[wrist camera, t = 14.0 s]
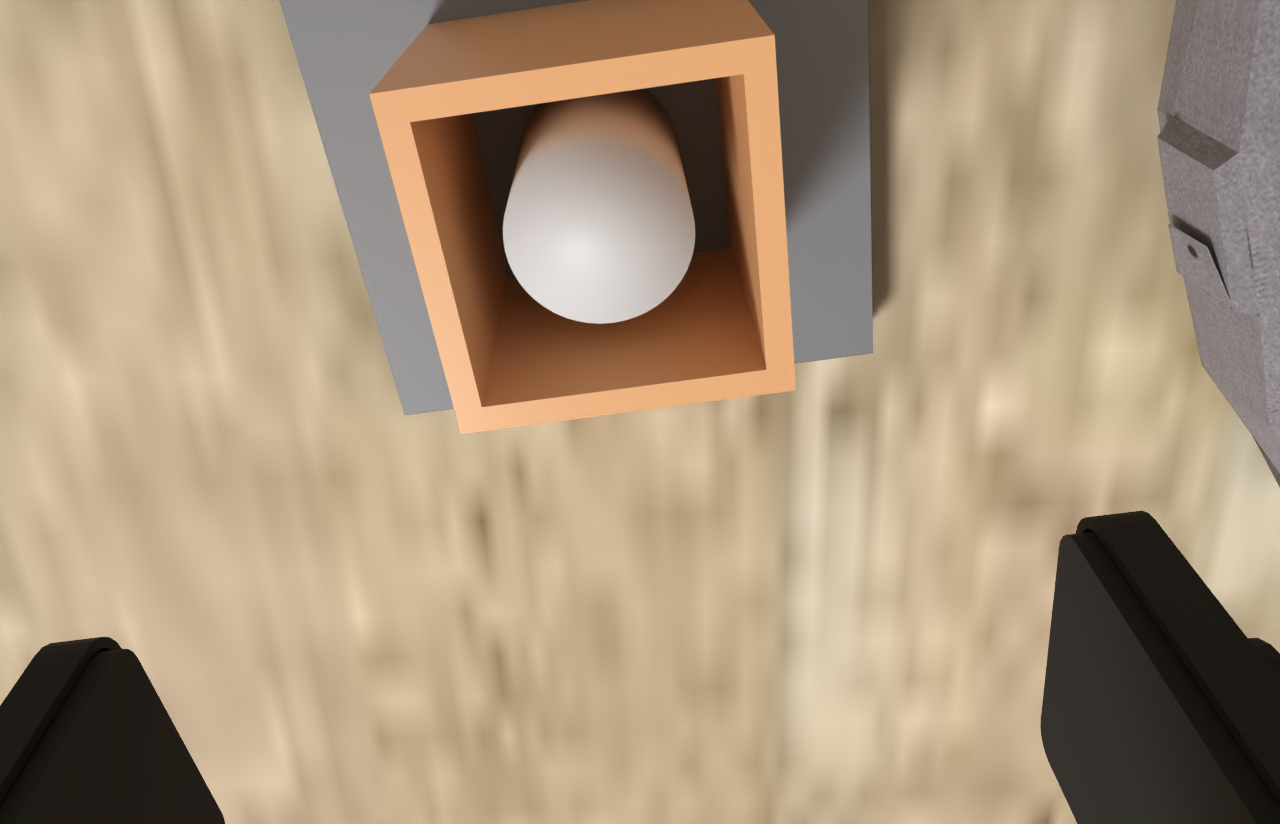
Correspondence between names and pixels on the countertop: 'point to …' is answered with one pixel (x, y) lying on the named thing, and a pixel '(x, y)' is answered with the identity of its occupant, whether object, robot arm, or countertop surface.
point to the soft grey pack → (1228, 196)
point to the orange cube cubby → (469, 240)
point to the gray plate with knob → (606, 178)
